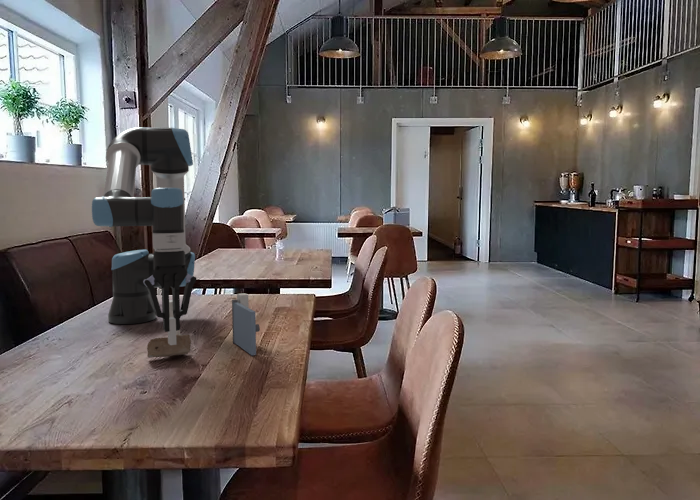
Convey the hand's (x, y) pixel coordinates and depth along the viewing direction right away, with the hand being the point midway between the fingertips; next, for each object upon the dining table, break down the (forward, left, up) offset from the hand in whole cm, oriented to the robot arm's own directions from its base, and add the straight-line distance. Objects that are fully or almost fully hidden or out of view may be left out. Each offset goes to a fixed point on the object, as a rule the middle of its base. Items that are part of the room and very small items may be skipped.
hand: (172, 343), depth 145 cm
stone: (-3, +4, -5) cm, 8 cm away
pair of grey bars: (-11, +10, -5) cm, 16 cm away
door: (-11, +20, -5) cm, 24 cm away
